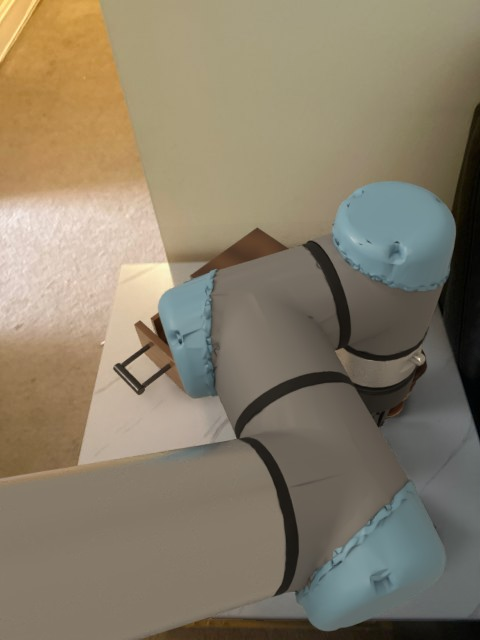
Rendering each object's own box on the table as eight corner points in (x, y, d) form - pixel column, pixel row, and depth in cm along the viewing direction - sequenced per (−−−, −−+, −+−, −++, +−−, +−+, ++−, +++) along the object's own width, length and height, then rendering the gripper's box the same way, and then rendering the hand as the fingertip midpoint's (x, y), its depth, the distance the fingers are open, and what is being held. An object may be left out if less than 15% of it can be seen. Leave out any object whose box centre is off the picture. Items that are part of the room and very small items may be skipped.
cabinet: (245, 353, 89) (240, 316, 81) (197, 313, 95) (189, 275, 87) (308, 301, 94) (309, 262, 87) (259, 266, 100) (257, 227, 92)
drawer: (153, 420, 82) (142, 393, 76) (112, 377, 87) (99, 349, 81) (251, 340, 89) (248, 310, 83) (208, 305, 94) (202, 274, 88)
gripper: (360, 434, 42) (340, 531, 61) (454, 327, 47) (409, 447, 66) (284, 377, 46) (287, 485, 64) (380, 284, 51) (357, 409, 69)
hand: (349, 466), depth 65 cm, fingers closed
